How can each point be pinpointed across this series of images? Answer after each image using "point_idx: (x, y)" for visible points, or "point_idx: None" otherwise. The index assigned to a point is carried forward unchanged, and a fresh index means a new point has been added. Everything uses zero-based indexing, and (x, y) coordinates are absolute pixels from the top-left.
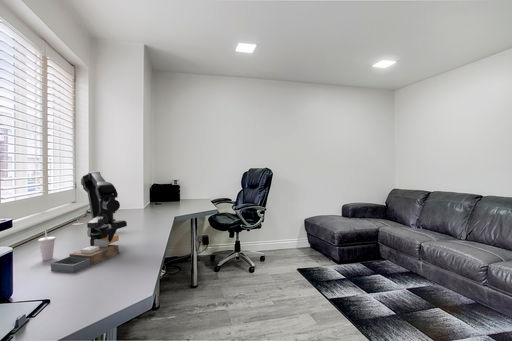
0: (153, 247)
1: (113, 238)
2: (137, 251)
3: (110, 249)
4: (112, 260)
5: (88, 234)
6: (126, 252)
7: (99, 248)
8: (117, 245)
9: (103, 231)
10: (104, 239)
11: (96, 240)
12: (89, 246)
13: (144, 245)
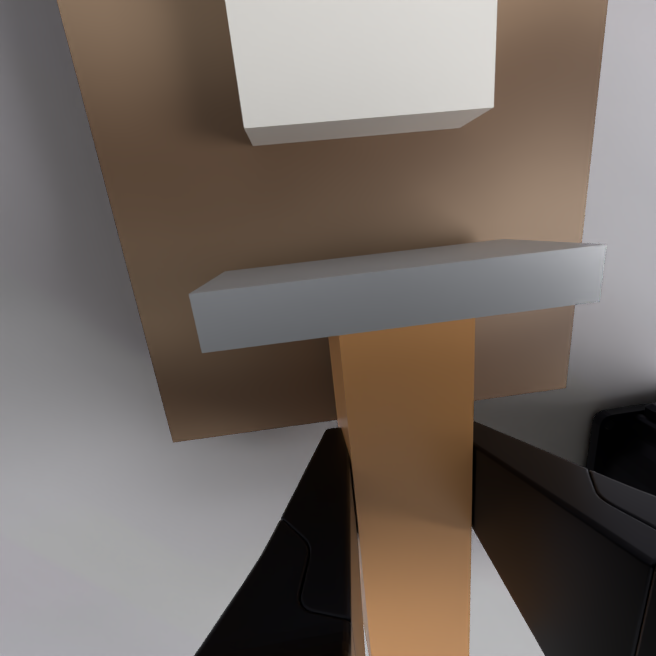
0: (17, 628)
1: None
2: (55, 496)
3: (138, 277)
4: (11, 167)
5: None
6: (149, 435)
7: (329, 211)
8: (171, 428)
9: (649, 622)
10: (340, 360)
11: (515, 254)
12: (487, 64)
13: (180, 631)
